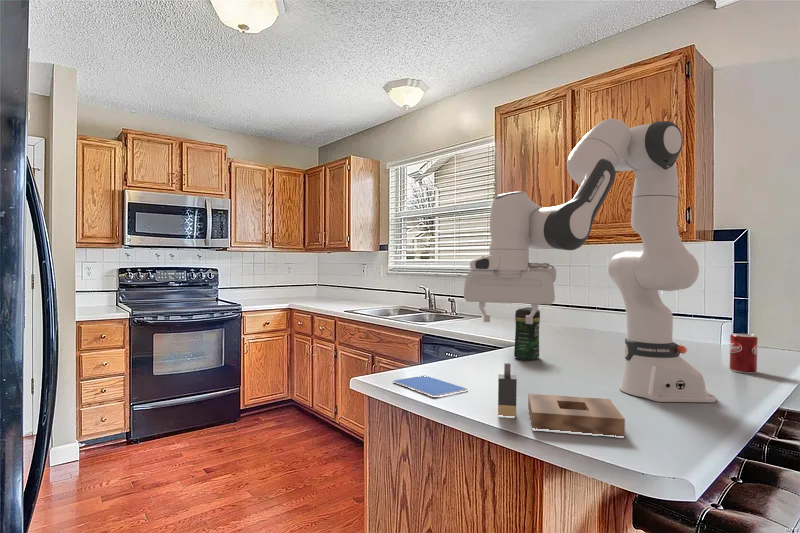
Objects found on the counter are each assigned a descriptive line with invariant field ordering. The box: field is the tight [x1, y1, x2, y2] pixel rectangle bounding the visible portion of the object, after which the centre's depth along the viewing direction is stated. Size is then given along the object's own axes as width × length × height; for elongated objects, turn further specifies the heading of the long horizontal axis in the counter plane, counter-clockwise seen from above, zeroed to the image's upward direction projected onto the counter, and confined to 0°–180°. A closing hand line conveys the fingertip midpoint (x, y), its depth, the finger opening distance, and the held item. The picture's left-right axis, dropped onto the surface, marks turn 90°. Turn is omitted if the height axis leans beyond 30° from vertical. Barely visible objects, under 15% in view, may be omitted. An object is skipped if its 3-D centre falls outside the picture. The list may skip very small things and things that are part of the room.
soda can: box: [729, 332, 759, 375], centre depth 155 cm, size 7×7×12 cm
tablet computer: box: [392, 375, 469, 396], centre depth 133 cm, size 19×13×1 cm, turn 36°
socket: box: [527, 393, 626, 437], centre depth 104 cm, size 18×14×4 cm
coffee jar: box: [513, 306, 541, 361], centre depth 173 cm, size 10×8×19 cm
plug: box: [497, 362, 518, 417], centre depth 109 cm, size 4×4×12 cm
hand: (507, 322), depth 109 cm, fingers open, 8 cm apart
